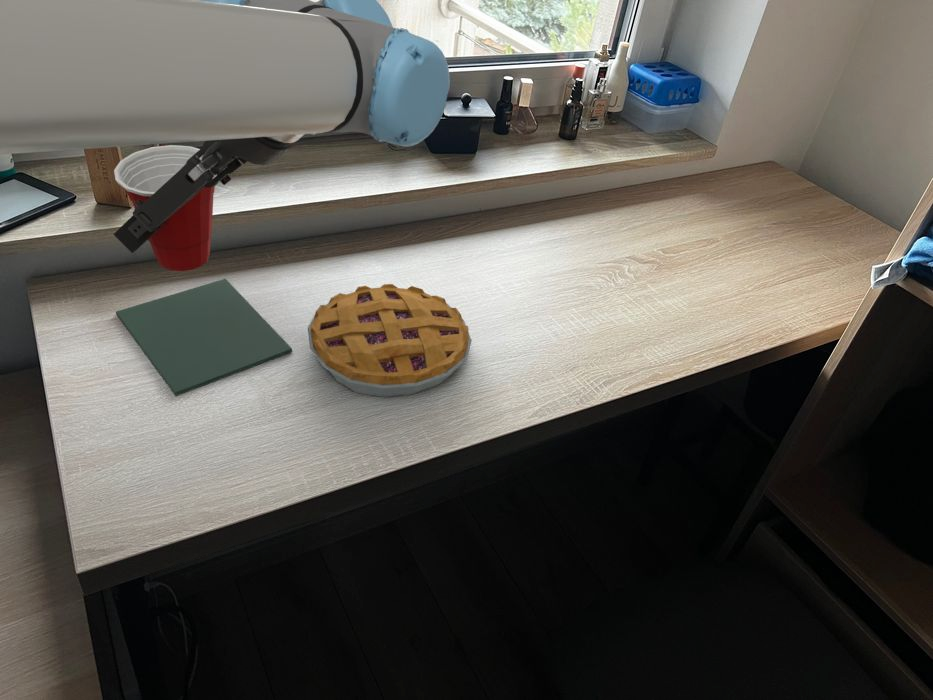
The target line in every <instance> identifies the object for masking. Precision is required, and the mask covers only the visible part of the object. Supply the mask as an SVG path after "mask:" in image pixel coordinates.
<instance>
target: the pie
mask: <svg viewBox="0 0 933 700" xmlns="http://www.w3.org/2000/svg"><path fill="white" fill-rule="evenodd" d="M307 335H308V343H309V349H310V351H311V352H312V353H313V356H315V357H316V359H317V360H318V362H319V363H320V364H321V366H322V367H323V369H325V370H326V371H329V373H330V374H331V375H332V377H333V378H334V379H335V380H336V381H337V382H338V383H339V384H341V385H343V386H344V387H346V388H348V389H349V390H351V391H352V392H354V393H356V394H361V395H362V394H363V395H368V396H375V397H382V398H383V397H394V396H395V397H396V396H408V395H414V394H417V393H420V392H422V391H425V390H429V389H431V388H433V387H436V386H439V385H440V384H441V383H443V382H444V381H445V380H446V379H448V378H449V377H451V375H453V374H454V373H455V372H456V370H457V369H458V367H460V366H461V365H462V364H463V363H465V362H466V361H468V356H469V353H470V349H471V345H472V338H471V335H470V332H469V325H467V324H466V322H465V320H464V319H463V316H462V314H461V313H460V311H459V309H458V308H457V307H451V306H450V305H449V304H448V303H447V301H446V299H445V298H444V297H441V296H439V295H430V294H428V293H426V292H425V291H424V289H423V288H420V287H416V286H414V285H411V286H409V287H407V288H403V287H397V286H396V285H394V283H385V284H382V285H381V286H380V287H369V286H368V285H362V286H357V288H356V289H355V290H354V291H353V292H350V293H347V294H346V293H341V292H340V293H338V294H336V295H334V296H332V297H330V299H329V301H328V303H326V304H324V305H323V304H320V305H319V307H318V308H317V309H316V311H315V313H314V316H313V317H312V319H311V321H310V323H309V325H308V327H307Z"/></svg>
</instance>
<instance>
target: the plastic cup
mask: <svg viewBox="0 0 933 700" xmlns="http://www.w3.org/2000/svg"><path fill="white" fill-rule="evenodd" d="M200 149H201V148H197V147H194V146H189V145H177V144H176V145H174V144H169V145H168V144H167V145H160V146H159V145H158V146H151V147H148V148H145V149H141V150H138V151H135V152H132V153H131V154H129V155H127V156H126V157H124V158H123V159H121V160H120V161H119V162H118V164H117V165H116V166H115V168H114V169H113V173H114V178H115V179H114V180H115V181H116V183H117V184H118V185H119V186H120V187H122V189H124V191H125V193H126V195H127V196H128V199H129V200H130V202H131V203H132V205H133V208H134V210H135V209H136V208H137V206H136V205H135V204H134V203H135V202H136V201H137V200H139V199H141V200H142V201H143V202H145V201H146V200H147V199H148V198H150V197H151V196H152V195H153V194H154V193H155V192H156V191H157V190H158V189H159V188H161V187H162V186H163V185H164V184H165V183H166V182H167V181H168V180H169V179H170V178H172V177H173V176H174V175H175V174H176V173H177V172H178V171H179V170H180V169H181V168H182V167H183V166H184V165H185V164H186V162H187V160H188V159H190V158H191V157H192V156H193V155H194V154H195V153H196V152H198V151H199V150H200ZM202 157H203V156H202ZM202 157H200V158H199V159H200V160H202ZM201 162H202V161H201ZM216 176H217V175H214V177H213V178H212V179H214V178H215V177H216ZM215 187H216V186H215V185H214V186H212V187H211V188H208V187H204V188H203V189H202V190H201V191H199V192H198V193H197V194H196V195H195V196H194V197H192V198H191V199H190V200H189V201H188V202H187V203H185V204H184V205H183V206H182V207H181V208H180V209H179V210H177V211H176V212H175V213H174V214H173V215H172V216H170V217H169V218H168V219H167V220H166V223H165V224H164V225H163V226H162V227H161V228H160V229H159V230H158V231H157V232H155V233H154V234H153V235H152V236H151V237H150V238H149V239H148V240H147V242H149V243H150V246H151V249H152V251H153V254H154V256H155V259H156V260H157V262H158V264H159V266H161V267H162V268H164V269H166V270H169V271H172V272H173V271H176V272H187V271H194V270H196V269H198V268H201V267H202V266H204V265H206V263H208V260H209V258H210V254H211V239H212V238H211V237H212V233H213V213H214V195H215V194H214V193H215V189H216V188H215Z"/></svg>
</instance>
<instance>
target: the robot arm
mask: <svg viewBox="0 0 933 700" xmlns="http://www.w3.org/2000/svg"><path fill="white" fill-rule="evenodd" d="M450 80H451V79H450V68H449V65H448V61H447V58H446V56H445V54H444V53H443V50H441V48H440V47H439V46H438V45H437V44H436V43H435V42H433V41H431V40H429V39H427V38H424V37H422V36H419V35H416V34H414V33H412V32H410V31H409V30H408V29H407V28H403V27H400V28H398V27H394V26H393V24H392V22H391V20H390V18H389V15H388V13H387V11H385V9H384V8H383V6H382V5H381V4H380V2H379V1H378V0H318V1H312V0H0V155H15V154H29V153H44V152H58V151H59V152H61V151H71V150H72V151H73V150H74V151H75V150H88V149H102V148H103V149H104V148H118V147H131V146H134V147H135V146H148V145H150V146H151V145H163V144H165V145H166V144H179V143H193V142H203V144H202V147H201V148H199V149H200V150H199V151H198V152H196V153H195V154H194V155H193V156H192V157H191V158H190V159H188V160H187V162H186V164H185V165H184V166H183V167H182V168H181V169H180V170H179V171H178V172H177V173H176V174H175V175H174V176H173V177H172V178H170V179H169V180H168V181H167V182H166V183H165V184H164V185H163V186H162V187H161V188H159V189H158V190H157V191H156V192H155V193H154V194H153V195H152V196H151V197H150V198H148V199H147V200H146V201H145V202H143V201H142V200H141V199H139V200H137V201H136V202H135V203H134V204H135V205H136V206H137V208H136V209H135V208H134V210H133V211H132V212H131V213H132V215H131V217H130V218H128V219H127V220H126V221H125V222H124V223H123V224H122V225H121V226H120V227H119V228H118V229H117V230H116V231H115V232H114V233H113V236H114V237H115V238H116V239H117V240H118V241H119V242H120V243H121V244H122V245H123V246H124V247H125V248H126V249H127V250H129V252H130V253H131V254H133V253H135V252H136V251H137V250H139V248H141V247H142V246H143V245H144V244H145V243H146V242H148V239H149V238H150V237H151V236H152V235H153V234H154V233H155V232H157V231H158V230H159V229H160V228H161V227H162V226H163V225H164V224H165V223H166V220H167V219H168V218H169V217H170V216H172V215H173V214H174V213H175V212H176V211H177V210H179V209H180V208H181V207H182V206H183V205H184V204H185V203H187V202H188V201H189V200H190V199H191V198H192V197H194V196H195V195H196V194H197V193H198V192H199V191H201V190H202V189H203V188H204V187H208V188H211V187H212V186H214V185H215V187H216V186H217V185H218V184H219V183H221V184H222V185H223V186H226V185H227V184H228V183H230V181H231V180H232V178H231V177H230V176H229V175H231V174H233V173H235V172H236V171H237V170H238V169H239V168H241V167H242V166H243V165H245V164H247V163H250V164H254V165H257V166H267V165H271V164H272V163H274V162H276V161H277V160H278V159H279V158H280V157H281V156H282V155H284V154H285V153H286V152H287V151H289V150H290V149H291V148H292V147H293V146H294V145H295V143H296V142H297V141H299V140H300V139H301V138H303V137H304V135H311V136H315V135H316V134H326V133H328V134H329V133H351V132H355V133H362V134H366V135H368V136H370V137H372V138H373V139H374V140H375V141H378V142H380V143H384V142H386V143H388V144H392V145H395V146H400V147H413V146H415V145H418V144H419V143H422V141H424V140H425V139H427V138H429V136H430V135H431V134H432V133H433V132H434V131H435V129H436V127H437V126H438V124H439V122H440V120H441V119H442V117H443V114H444V113H445V110H446V106H447V99H448V94H449V90H450ZM202 156H203V157H202ZM200 157H202V160H200V159H199V158H200ZM201 161H202V162H201ZM214 175H217V176H216V177H215V178H214V179H212V178H213V177H214Z"/></svg>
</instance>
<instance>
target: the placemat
mask: <svg viewBox="0 0 933 700" xmlns="http://www.w3.org/2000/svg"><path fill="white" fill-rule="evenodd" d="M115 316H116V317H117V318H118V319H119V320H120V322H121V323H122V325H123V326H124V327H125V329H126V330H127V331H128V333H129V334H130V336H131V337H132V338H133V340H134V341H135V343H136V344H137V345H138V347H139V348H140V350H141V351H142V352H143V354H144V355H145V356H146V357H147V359H148V360H149V362H150V363H151V364H152V366H153V367H154V369H155V370H156V371H157V373H158V374H159V376H160V377H161V378H162V380H163V381H164V383H165V384H166V385H167V386H168V388H169V389H170V391H171V392H172V394H173V395H174V396H175V397H177V396H179V395H183V394H185V393H187V392H190V391H193V390H195V389H197V388H200V387H203V386H205V385H209V384H211V383H214V382H217V381H218V380H222V379H225V378H227V377H230V376H232V375H235V374H237V373H240V372H243V371H245V370H248V369H251V368H254V367H256V366H259V365H262V364H264V363H268V362H269V361H272V360H274V359H278V358H279V357H282V356H286V355H287V354H290V353H293V348H292V347H291V346H290V345H289V343H287V342H286V340H284V338H283V337H281V335H280V334H279V333H278V332H277V331H276V330H275V329H274V328H273V327H272V326H271V325H270V324H269V323H268V322H267V321H266V319H265V318H264V317H263V316H262V315H261V314H260V313H259V312H258V311H257V310H256V309H255V308H254V307H253V306H252V304H250V303H249V301H247V299H245V298H244V296H243V295H242V294H241V293H240V292H239V291H238V290H237V289H236V288H235V287H234V286H233V285H232V284H231V282H230V281H228V280H227V279H226V278H223V279H219V280H217V281H213V282H210V283H206V284H203V285H200V286H196V287H193V288H189V289H185V290H183V291H180V292H176V293H173V294H169V295H166V296H163V297H160V298H156V299H153V300H150V301H149V300H148V301H146V302H143V303H139V304H136V305H133V306H129V307H125V308H123V309H120V310H116V311H115Z"/></svg>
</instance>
